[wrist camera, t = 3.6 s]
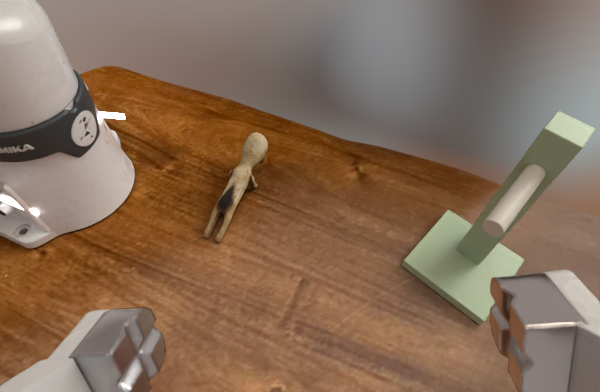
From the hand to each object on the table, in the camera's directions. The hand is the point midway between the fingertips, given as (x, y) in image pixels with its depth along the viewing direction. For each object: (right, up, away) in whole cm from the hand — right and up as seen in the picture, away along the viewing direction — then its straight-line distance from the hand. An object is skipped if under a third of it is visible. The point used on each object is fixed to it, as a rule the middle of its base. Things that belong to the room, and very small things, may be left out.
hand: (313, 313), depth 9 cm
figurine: (-8, +3, +41) cm, 42 cm away
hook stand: (+17, -6, +36) cm, 40 cm away
